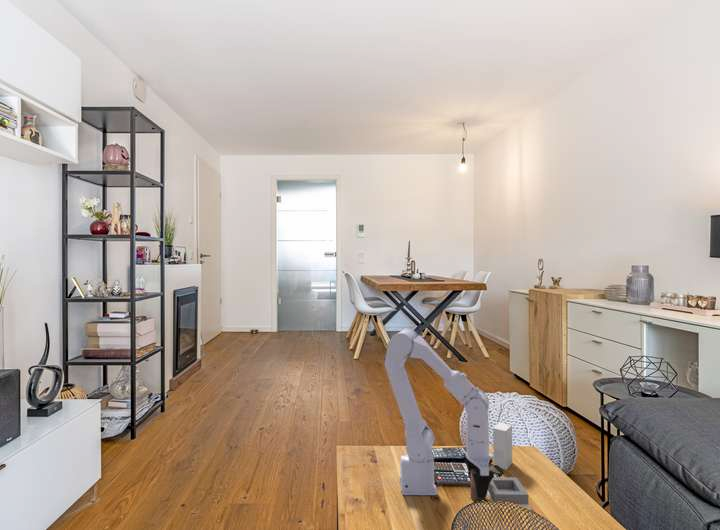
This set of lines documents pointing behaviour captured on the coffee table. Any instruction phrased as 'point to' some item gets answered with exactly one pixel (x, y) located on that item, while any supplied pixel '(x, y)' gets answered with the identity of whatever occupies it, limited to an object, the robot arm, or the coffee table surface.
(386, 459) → the coffee table surface
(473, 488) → the walnut peg
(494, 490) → the socket board
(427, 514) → the coffee table surface
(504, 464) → the skincare box
